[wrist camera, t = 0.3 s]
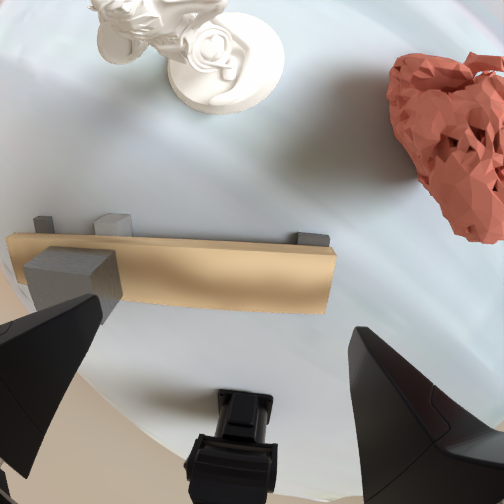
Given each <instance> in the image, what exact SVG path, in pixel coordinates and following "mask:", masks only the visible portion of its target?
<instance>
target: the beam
mask: <svg viewBox="0 0 504 504" xmlns="http://www.w3.org/2000/svg"><path fill="white" fill-rule="evenodd" d="M6 242H7V246H8V250H9V254H10V258H11V262H12V265H13V269H14V272H15V275H16V279H17V282H18V283H21V284H26V285H27V281H26V278H25V275H24V271H23V268H22V266H23V265H25V264H26V263H27V262H29V261H30V260H31V259H33V258H34V257H35V256H37V255H38V254H39V253H41V252H42V251H44V250H45V249H46V248H48V247H49V246H61V247H76V248H92V249H108V250H115V252H116V258H117V264H118V270H119V276H120V281H121V286H122V291H123V296H122V298H121V299H120V300H126V301H134V302H142V303H151V304H161V305H171V306H181V307H192V308H205V309H218V310H233V311H251V312H272V313H304V314H325V311H326V306H327V302H328V297H329V292H330V288H331V283H332V278H333V273H334V268H335V262H336V257H337V255H336V253H335V252H334V250H333V248H332V247H321V246H304V245H287V244H269V243H250V242H231V241H211V240H191V239H169V238H147V237H123V236H98V235H72V234H42V233H13V234H12V235H10V236H8V237H7V238H6Z"/></svg>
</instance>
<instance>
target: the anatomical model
mask: <svg viewBox="0 0 504 504" xmlns="http://www.w3.org/2000/svg"><path fill="white" fill-rule="evenodd" d="M490 70H493V72H490ZM480 71H483V73H482V74H481V75H479V76H476V77H475V75H476V74H477V72H480ZM495 71H501V72H504V57H501V56H489V55H476V54H474V53H472V52H470V53H469V55H468V57H467V59H466V61H465V62H464V63H463V64H461V63H459V62H457V61H455V60H452V59H450V58H444V57H438V56H430V55H424V54H408V55H404V56H401V57H399V58H397V60H396V62H395V64H394V66H393V67H392V69H391V70H390V79H389V85H388V89H387V93H386V97H387V99H388V100H389V102H390V105H389V111H390V121H391V124H392V126H393V131H394V136H395V137H396V139H397V140H398V141H399V142H400V143H401V144H402V146H403V147H404V148H405V150H406V151H407V153H408V154H409V156H410V157H411V159H412V161H413V163H414V165H415V167H416V169H417V178H418V181H419V182H421V183H422V184H423V186H424V187H425V188H426V189H427V190H428V191H429V193H430V195H431V196H433V197H434V199H435V200H436V201H437V202H438V203H439V204H440V207H441V211H442V214H443V216H444V217H445V218H446V219H447V220H448V221H449V223H450V225H451V227H452V230H453V232H454V234H455V235H459V236H463V237H465V238H466V239H467V240H468V241H469V242H481V243H483V244H495V243H496V242H497V241H498V240H504V78H503V77H501V76H498V75H496V74H495V73H494V72H495ZM489 72H490V73H489ZM494 74H495V75H494ZM474 77H475V78H474Z"/></svg>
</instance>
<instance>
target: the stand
mask: <svg viewBox="0 0 504 504" xmlns="http://www.w3.org/2000/svg"><path fill="white" fill-rule="evenodd" d="M33 220H34V225H35V231H36V233H42V234H55V233H54V228H53V222H52V217H49V216H38V217H36V218H34V219H33ZM94 229H95V235H98V236H123V237H133V236H132V227H131V216H130V214H107V215H105V216H103V217H102V218H100V219H98V220H96V221H94ZM329 243H330V238H329V235H322V234H311V233H301V232H298V237H297V245H304V246H321V247H329Z"/></svg>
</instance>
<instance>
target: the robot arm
mask: <svg viewBox="0 0 504 504" xmlns="http://www.w3.org/2000/svg"><path fill="white" fill-rule="evenodd" d="M102 319H103V312H102V308H101V304H100V300H99V297H98V296H97V295H95V294H90V293H87V294H84V295H82V296H79V297H76V298H73V299H70V300H68V301H65V302H62V303H59V304H57V305H54V306H51V307H48V308H46V309H43V310H40V311H37V312H35V313H32V314H29V315H26V316H24V317H21V318H19V319H16V320H14V321H10V322H8V323H5V324H2V325H0V467H1V465H2V464H3V462H5V463H7V464H8V465H9V466H10V467H12V468H13V469H14V470H15V471H16V472H18V473H19V474H20V475H22V476H23V477H24V478H25V479H27V478H28V476H29V473H30V471H31V468H32V466H33V463H34V460H35V458H36V455H37V453H38V450H39V448H40V446H41V443H42V441H43V439H44V436H45V434H46V432H47V429H48V427H49V425H50V423H51V420H52V419H53V417H54V414H55V412H56V410H57V408H58V406H59V404H60V402H61V400H62V398H63V396H64V394H65V392H66V390H67V388H68V386H69V384H70V383H71V381H72V379H73V377H74V375H75V373H76V371H77V370H78V368H79V366H80V364H81V362H82V361H83V359H84V357H85V355H86V353H87V352H88V350H89V347H90V345H91V343H92V341H93V339H94V336H95V334H96V332H97V330H98V328H99V326H100V324H101V321H102ZM348 361H349V379H350V393H351V400H352V406H353V412H354V419H355V426H356V433H357V440H358V448H359V457H360V466H361V475H362V486H363V498H364V504H504V432H501V431H497V430H494V429H492V428H490V427H489V426H487V425H486V424H485V423H483V422H482V421H480V420H479V419H478V418H476V417H475V416H474V415H472V414H471V413H469V412H468V411H467V410H465V409H464V408H463V407H461V406H460V405H459V404H457V403H456V402H455V401H453V400H452V399H451V398H450V397H448V396H447V395H446V394H445V393H444V392H443V391H441V390H440V389H439V388H438V387H437V386H436V385H433V383H432V382H431V381H430V380H429V379H428V378H426V377H425V376H424V375H423V374H422V373H421V372H420V371H418V370H417V369H416V368H415V367H414V366H413V365H411V364H410V363H409V362H408V361H407V360H406V359H405V358H403V357H402V356H401V355H400V354H399V353H398V352H396V351H395V350H394V349H393V348H392V347H391V346H389V345H388V344H387V343H386V342H385V341H384V340H382V339H381V338H380V337H379V336H378V335H376V334H375V333H374V332H373V331H372V330H371V329H369V328H368V327H362V326H357V327H355V328H354V330H353V334H352V337H351V340H350V343H349V347H348ZM272 404H273V397H272V396H270V395H259V394H250V393H241V392H234V391H226V390H219V391H218V406H219V419H218V424H217V428H216V432H215V436H214V437H212V436H206V435H205V434H199V437H198V439H196V440H195V443H194V446H193V448H192V451H191V453H190V455H189V457H188V458H187V460H186V461H185V463H184V468H185V470H186V473H187V480H188V481H190V484H189V489H188V492H189V494H190V498H191V500H192V502H193V504H265V503H266V499H267V493H273V492H274V488H275V483H276V475H277V450H278V444H276V443H273V444H267V443H265V434H266V425H268V424H269V420H270V415H271V410H272ZM0 504H18V503H16V502H15V501H14V500H13V499H11V497H10V493H9V489H8V485H7V480H6V475H5V472H4V471H2V470H1V469H0Z"/></svg>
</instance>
